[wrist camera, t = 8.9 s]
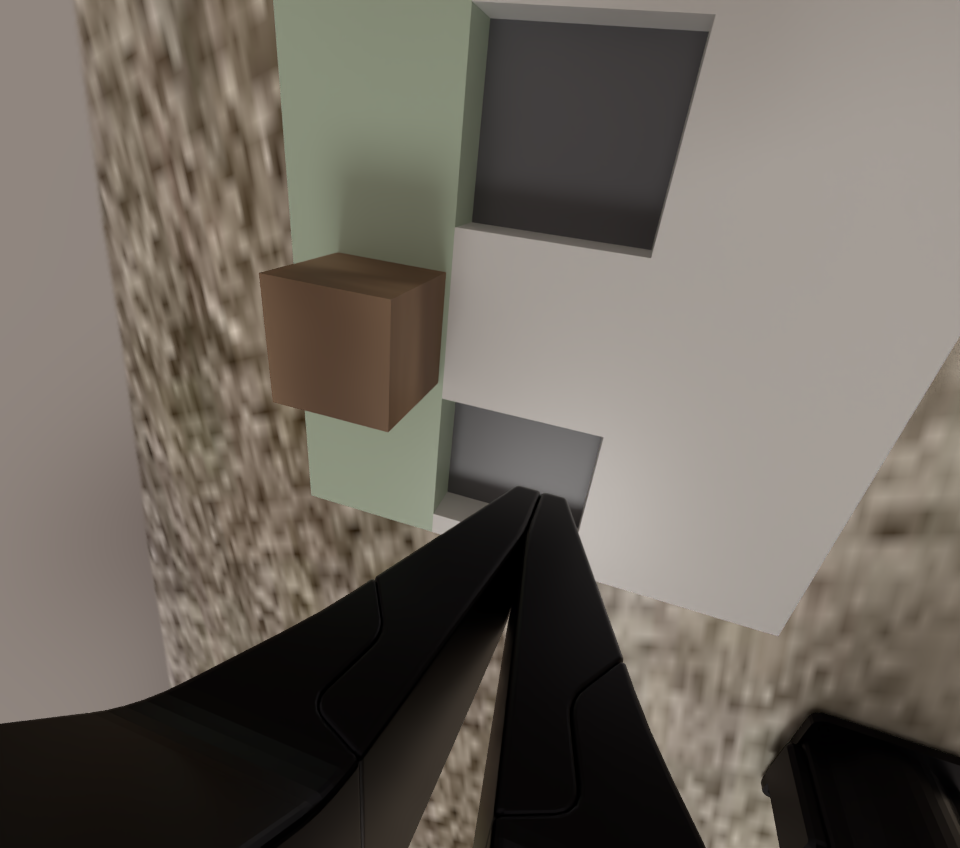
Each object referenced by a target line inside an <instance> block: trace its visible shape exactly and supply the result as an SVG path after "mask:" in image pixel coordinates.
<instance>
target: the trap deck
mask: <svg viewBox="0 0 960 848" xmlns="http://www.w3.org/2000/svg"><path fill="white" fill-rule="evenodd" d="M273 4H274V17H275V30H276V42H277V55H278V68H279V81H280V94H281V107H282V120H283V133H284V146H285V159H286V172H287V185H288V198H289V211H290V224H291V237H292V250H293V263H294V264H295V263H299V262H303V261H307V260H310V259H314V258H318V257H322V256H326V255H329V254H333V253H337V252H339V253H344V254H350V255H355V256H361V257H366V258H371V259H377V260H382V261H388V262H393V263H399V264H404V265H410V266H415V267H420V268H426V269H431V270H437V271H442V272H446V282H445V296H444V309H443V323H442V336H441V350H440V364H439V377H438V384H437V385H436V386H435V387H434V388H433V389H432V390H431V391H430V392H429V393H428V394H427V395H426V396H425V397H424V398H423V399H422V400H421V401H420V402H419V403H418V404H417V405H416V406H415V407H413V408H412V409H411V410H410V411H409V412H408V413H407V414H406V415H405V416H404V417H403V418H402V419H401V420H400V421H399V422H398V423H397V424H396V425H395V426H394V427H393V428H392V429H391V430H390V431H389V432H385V431H381V430H377V429H373V428H369V427H366V426H362V425H358V424H354V423H350V422H347V421H343V420H339V419H335V418H332V417H328V416H324V415H320V414H316V413H313V412H309V411H305V419H306V432H307V445H308V458H309V471H310V484H311V495H312V496H315V497H319V498H322V499H325V500H329V501H332V502H335V503H339V504H342V505H345V506H348V507H352V508H355V509H358V510H362V511H365V512H368V513H372V514H375V515H378V516H382V517H385V518H388V519H391V520H395V521H398V522H401V523H405V524H408V525H411V526H415V527H418V528H421V529H425V530H428V531H431V532H434V533H438V534H443V533H444V532H446V531H447V530H449V529H450V528H452V527H454V526H455V525H457V524H458V523H460V522H461V521H463V520H464V519H466V518H467V517H469V516H471V515H472V514H474V513H475V512H477V511H478V510H480V509H481V508H483V507H484V506H486V505H488V504H489V503H491V502H492V501H494V500H495V499H497V498H498V497H500V496H501V495H503V494H505V493H506V492H508V491H509V490H511V489H512V488H514V487H515V486H523V487H527V488H530V489H534V490H537V491H539V492H540V496H541V494H542V493H549V494H553V495H556V496H560V497H564V498H565V499H566V500H567V502H568V505H569V508H570V510H571V513H572V516H573V519H574V522H575V525H576V527H577V530H578V533H579V536H580V539H581V541H582V544H583V547H584V550H585V553H586V556H587V558H588V561H589V564H590V567H591V570H592V572H593V575H594V578H595V581H596V582H600V583H603V584H606V585H610V586H613V587H616V588H620V589H623V590H626V591H630V592H633V593H636V594H639V595H643V596H646V597H649V598H653V599H656V600H659V601H663V602H666V603H669V604H672V605H676V606H679V607H682V608H686V609H689V610H692V611H696V612H699V613H702V614H706V615H709V616H712V617H715V618H719V619H722V620H725V621H729V622H732V623H735V624H739V625H742V626H745V627H749V628H752V629H755V630H758V631H762V632H765V633H768V634H772V635H775V636H779V634H780V632H781V631H782V629H783V627H784V626H785V624H786V623H787V621H788V619H789V618H790V616H791V614H792V613H793V611H794V609H795V608H796V606H797V604H798V603H799V601H800V599H801V598H802V596H803V594H804V593H805V591H806V589H807V588H808V586H809V585H810V583H811V581H812V580H813V578H814V576H815V575H816V573H817V571H818V570H819V568H820V566H821V565H822V563H823V561H824V560H825V558H826V556H827V555H828V553H829V552H830V550H831V548H832V547H833V545H834V543H835V542H836V540H837V538H838V537H839V535H840V533H841V532H842V530H843V528H844V527H845V525H846V523H847V522H848V520H849V518H850V517H851V515H852V514H853V512H854V510H855V509H856V507H857V505H858V504H859V502H860V500H861V499H862V497H863V495H864V494H865V492H866V490H867V489H868V487H869V485H870V484H871V482H872V480H873V479H874V477H875V476H876V474H877V472H878V471H879V469H880V467H881V466H882V464H883V462H884V461H885V459H886V457H887V456H888V454H889V452H890V451H891V449H892V447H893V446H894V444H895V442H896V441H897V439H898V438H899V436H900V434H901V433H902V431H903V429H904V428H905V426H906V424H907V423H908V421H909V419H910V418H911V416H912V414H913V413H914V411H915V409H916V408H917V406H918V404H919V403H920V401H921V400H922V398H923V396H924V395H925V393H926V391H927V390H928V388H929V386H930V385H931V383H932V381H933V380H934V378H935V376H936V375H937V373H938V371H939V370H940V368H941V366H942V365H943V363H944V362H945V360H946V358H947V357H948V355H949V353H950V352H951V350H952V348H953V347H954V345H955V343H956V342H957V340H958V338H959V337H960V0H273Z"/></svg>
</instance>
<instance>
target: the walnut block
mask: <svg viewBox="0 0 960 848" xmlns="http://www.w3.org/2000/svg"><path fill="white" fill-rule="evenodd" d="M259 278H260V287H261V296H262V306H263V315H264V324H265V333H266V342H267V352H268V361H269V370H270V379H271V388H272V398H273V402H275V403H279V404H282V405H286V406H290V407H294V408H298V409H301V410H305V411H309V412H313V413H316V414H320V415H324V416H328V417H332V418H335V419H339V420H343V421H347V422H350V423H354V424H358V425H362V426H366V427H369V428H373V429H377V430H381V431H385V432H389V431H390V430H391V429H392V428H393V427H394V426H395V425H396V424H397V423H398V422H399V421H400V420H401V419H402V418H403V417H404V416H405V415H406V414H407V413H408V412H409V411H410V410H411V409H412V408H413V407H415V406H416V405H417V404H418V403H419V402H420V401H421V400H422V399H423V398H424V397H425V396H426V395H427V394H428V393H429V392H430V391H431V390H432V389H433V388H434V387H435V386H436V385H437V384H438V377H439V364H440V350H441V336H442V323H443V309H444V296H445V282H446V272H442V271H437V270H431V269H426V268H420V267H415V266H410V265H404V264H399V263H393V262H388V261H382V260H377V259H371V258H366V257H361V256H355V255H350V254H344V253H339V252H337V253H333V254H329V255H326V256H322V257H318V258H314V259H310V260H307V261H303V262H299V263H295V264H291V265H288V266H284V267H280V268H276V269H272V270H269V271H265V272H261V273H259Z"/></svg>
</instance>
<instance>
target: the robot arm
mask: <svg viewBox="0 0 960 848" xmlns="http://www.w3.org/2000/svg"><path fill="white" fill-rule="evenodd" d="M509 614H510V616H509ZM508 617H509V621H508V627H507V632H506V638H505V644H504V651H503V657H502V663H501V670H500V676H499V683H498V689H497V696H496V702H495V708H494V715H493V721H492V728H491V734H490V741H489V747H488V753H487V760H486V766H485V773H484V779H483V786H482V792H481V799H480V805H479V811H478V818H477V824H476V831H475V837H474V844H473V848H706V847H705V845H704V843H703V841H702V839H701V837H700V835H699V832H698V830H697V828H696V826H695V824H694V822H693V820H692V818H691V816H690V814H689V812H688V810H687V808H686V806H685V804H684V802H683V800H682V797H681V795H680V793H679V791H678V789H677V787H676V785H675V783H674V781H673V779H672V777H671V774H670V772H669V770H668V768H667V766H666V764H665V761H664V759H663V757H662V755H661V753H660V751H659V748H658V746H657V744H656V742H655V740H654V737H653V735H652V733H651V731H650V728H649V726H648V723H647V721H646V718H645V715H644V713H643V710H642V708H641V705H640V703H639V700H638V698H637V695H636V693H635V690H634V687H633V684H632V681H631V679H630V676H629V673H628V670H627V667H626V665H625V664H624V663H623V657H622V654H621V651H620V648H619V646H618V643H617V640H616V637H615V634H614V632H613V629H612V626H611V623H610V620H609V617H608V615H607V612H606V609H605V606H604V603H603V601H602V598H601V595H600V592H599V589H598V586H597V584H596V581H595V578H594V575H593V572H592V570H591V567H590V564H589V561H588V558H587V556H586V553H585V550H584V547H583V544H582V541H581V539H580V536H579V533H578V530H577V527H576V525H575V522H574V519H573V516H572V513H571V510H570V508H569V505H568V502H567V500H566V499H565V498H564V497H560V496H556V495H553V494H549V493H542V494H541V496H540V492H539V491H537V490H534V489H530V488H527V487H523V486H515V487H514V488H512V489H511V490H509V491H508V492H506V493H505V494H503V495H501V496H500V497H498V498H497V499H495V500H494V501H492V502H491V503H489V504H488V505H486V506H484V507H483V508H481V509H480V510H478V511H477V512H475V513H474V514H472V515H471V516H469V517H467V518H466V519H464V520H463V521H461V522H460V523H458V524H457V525H455V526H454V527H452V528H450V529H449V530H447V531H446V532H444V533H443V534H441V535H440V536H438V537H437V538H435V539H433V540H432V541H430V542H429V543H427V544H426V545H424V546H423V547H421V548H420V549H418V550H417V551H415V552H413V553H412V554H410V555H409V556H407V557H406V558H404V559H403V560H401V561H400V562H398V563H396V564H395V565H393V566H392V567H390V568H389V569H387V570H386V571H384V572H383V573H381V574H379V575H378V576H376V578H375V580H370V581H368V582H367V583H365V584H364V585H362V586H361V587H359V588H357V589H356V590H354V591H353V592H351V593H350V594H348V595H346V596H345V597H343V598H341V599H340V600H338V601H336V602H335V603H333V604H331V605H330V606H328V607H327V608H325V609H323V610H322V611H320V612H318V613H316V614H314V615H313V616H311V617H309V618H307V619H305V620H303V621H301V622H300V623H298V624H296V625H294V626H292V627H290V628H289V629H287V630H285V631H283V632H281V633H279V634H277V635H275V636H273V637H271V638H269V639H267V640H265V641H264V642H262V643H260V644H258V645H256V646H254V647H252V648H250V649H248V650H246V651H244V652H242V653H240V654H238V655H236V656H234V657H232V658H230V659H228V660H226V661H224V662H222V663H221V664H219V665H217V666H215V667H213V668H211V669H209V670H207V671H205V672H203V673H201V674H199V675H197V676H195V677H193V678H191V679H189V680H187V681H185V682H183V683H181V684H179V685H177V686H175V687H173V688H171V689H169V690H167V691H164V692H162V693H159V694H157V695H155V696H152V697H149V698H147V699H145V700H141V701H138V702H135V703H132V704H129V705H125V706H122V707H118V708H113V709H109V710H105V711H98V712H92V713H85V714H76V715H68V716H60V717H52V718H44V719H36V720H28V721H19V722H11V723H3V724H0V848H408V847H409V845H410V842H411V840H412V838H413V835H414V833H415V831H416V829H417V826H418V824H419V822H420V819H421V817H422V815H423V813H424V810H425V808H426V806H427V804H428V801H429V799H430V797H431V794H432V792H433V790H434V788H435V785H436V783H437V781H438V778H439V776H440V774H441V772H442V769H443V767H444V765H445V762H446V760H447V758H448V756H449V753H450V751H451V749H452V747H453V744H454V742H455V740H456V737H457V735H458V733H459V731H460V728H461V726H462V724H463V721H464V719H465V717H466V715H467V712H468V710H469V708H470V705H471V703H472V701H473V699H474V696H475V694H476V692H477V690H478V687H479V685H480V683H481V680H482V678H483V676H484V674H485V671H486V669H487V667H488V664H489V662H490V660H491V658H492V655H493V653H494V651H495V648H496V646H497V644H498V642H499V639H500V637H501V635H502V632H503V630H504V627H505V625H506V623H507V620H508ZM761 785H762V791H763V793H764V794H765V795H766V796H768V797H770V798H771V804H772V809H773V814H774V820H775V825H776V830H777V836H778V841H779V847H780V848H960V757H957V756H954V755H951V754H948V753H945V752H941V751H938V750H935V749H932V748H929V747H926V746H923V745H920V744H917V743H914V742H911V741H908V740H905V739H902V738H899V737H896V736H893V735H890V734H886V733H883V732H880V731H877V730H874V729H871V728H868V727H865V726H862V725H859V724H856V723H853V722H850V721H847V720H844V719H841V718H838V717H835V716H831V715H828V714H825V713H813V714H811V715H810V716H808V718H807V719H806V720H805V722H804V723H803V724H802V726H801V727H800V729H799V730H798V731H797V733H796V734H795V735H794V737H793V738H792V739H791V741H790V742H789V743H788V744H787V745H786V746H785V747H784V748H783V750H782V751H781V752H780V754H779V755H778V756H777V758H776V759H775V761H774V762H773V763H772V765H771V766H770V767H769V769H768V770H767V771H766V775H765V776H764V777H763V779H762V780H761Z"/></svg>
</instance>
